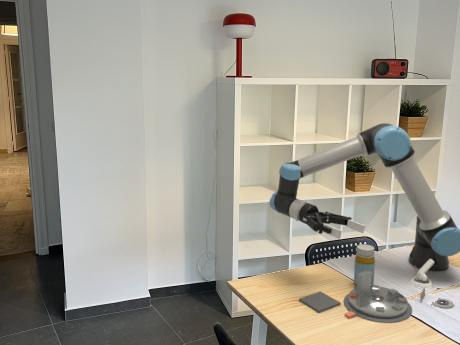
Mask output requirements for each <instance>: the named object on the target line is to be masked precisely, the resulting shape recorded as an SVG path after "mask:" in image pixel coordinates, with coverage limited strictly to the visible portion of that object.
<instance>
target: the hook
mask: <svg viewBox="0 0 460 345" xmlns="http://www.w3.org/2000/svg"><path fill="white" fill-rule="evenodd" d="M433 264H434V261H433V260H432V259H429V260H428V261H427V262H426V263H425V264H424V265H423V267H422V268H419V270H418V271H417V272H416V276H414V277H412V278H411V280H410V281H411V283H412V284H413V285H414V287H415V286H417V287H416V288H418V287H421V288H420V289H422V288H424V287H425V288H428V289H430V288H429V287H431V288H432V287H433V283H432V280H431V279H429V278H428V276H427V274H426V273H427V272H428V271H430V270H429V269H430V267H431V266H432V265H433ZM418 281H422V282H426V281H428V282H429V283H428V282H426V283H422V282H418ZM411 283H410V284H411ZM412 284H411V285H412ZM413 285H412V286H413Z"/></svg>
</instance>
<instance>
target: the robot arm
mask: <svg viewBox="0 0 460 345" xmlns="http://www.w3.org/2000/svg"><path fill="white" fill-rule="evenodd" d="M372 154H377V155H378V157H379V158H380V161H381V162H382V164H383V165H384V168H387V169H390V170H391V171H392V174H394V176H395V178H396V180H397V181H398V183H399V185H400V187H401V189H402V191H403V192H404V194H405V195H406V198H407V199H408V201H409V202H410V204H411V206H412V208H413V210H414V212H415V214H416V223H415V224H416V226H415V234H414V235H415V237H414V238H415V239H414V245H413V247H412V248H411V251H410V253H409V255H408V256H409V257H408V262H409V264H410V263H411V265H412V266H413V265H414V267H415V266H416V267H415V268H419V269H421V268H422V267H423V265H424V264H425V263H426V262H427V261H428V260H429V259H432V260H433V261H434V264H433V265H432V266H431V267H430V269H429V270H428V271H431V270H432V271H433V272H438V271H439V272H440V271H445V270H448V269H449V265H450V261H449V257H452V256H456V255H457V254H459V253H460V229H459V228H458V226H457V224H456V223H455V221H454V219H453V218H452V216H451V214H450V213H449V212H448V211H447V210H443V209H442V207H441V205H440V203H439V202H438V200H437V198H436V196H435V194H434V193H433V192H434V191H432V188H431V187H430V185H429V184H428V182H427V180H426V178H425V176H424V175H423V172H422V171H421V170H420V167H419V166H418V164H417V162H416V160H415V159H414V158H415V154H416V151H415V150H414V147H413V146H412V142H411V138H410V136H409V134H408V133H407V131H406V130H404V128H401V127H399V126H396V125H394V124H391V123H387V122H384V123H379V124H376V125H374V126H372V127H369V128H367V129H365V130H363V131H361V132H358V133H357V134H356V136H355V137H353V138H349V139H347V140H345V141H342V142H340V143H337V144H335V145H331V146H329V147H327V148H324V149H322V150H318V151H317V152H314V153H312V154H308V155H306V156H304V157H301V158H299V159H297V160H293V161H291V162H290V161H289V162H284V163H283V164H282V165H281V166H280V168H279V179H278V180H279V181H278V187H277V191H275V192H274V193H272V195H271V197H270V198H269V207H270V208H271V209H272V210H274V211H275V212H277V213H279V214H281V215H284V216H287V217H289V218H291V219H294V220H295V221H296V222H301V223H303V224H306V225H307V226H308V227H309V228H311V230H312V231H314V232H318V234H320V235H322V234H323V233H325V234H327V235H329V236H332V237H335V238H337V239H339V240H340V239H341V238H342V232H343V231H342V230H341V229H339V228H337V227H334V226H332V225H330V224H335V225H341V226H346V228H349V229H351V230H354V231H356V232H358V233H362V234H364V232H365V228H366V225H365V224H362V223H359V222H357V221H354V220H352V219H353V218H352V217H351V216H345V215H341V214H336V213H332V212H328V211H325V212H324V211H319V208H318V207H317V206H316V205H314V204H311V203H308V202H306V201H304V200H301V199H298V198H297V197H298V196H297V195H298V190H299V184H300V180H301V179H302V178H305V177H308V176H310V175H312V174H316V173H318V172H321V171H324V170H326V169H329V168H332V167H334V166H337V165H339V164H341V163H344V162H348V161H350V160H352V159H355V158H357V157H360V156H367V157H368V156H369V155H372Z"/></svg>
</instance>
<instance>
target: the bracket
mask: <svg viewBox="0 0 460 345" xmlns="http://www.w3.org/2000/svg"><path fill="white" fill-rule="evenodd" d="M425 296H426V289H425V287H424V288H423V289H422V290H421V293H420V296H419V297H420V299H419V300H420V302H419V303H421V304H422V302H423V300H424V298H425ZM437 298H438V300H437V301H435V303H434V302H432V304H431V305H430V306H432V305H433V307H436V308H442V309H450V308H453V307H454V306H455V304H454V302H453V301H451V300H449V299H446V298H441V297H437ZM441 302H443V303H441Z"/></svg>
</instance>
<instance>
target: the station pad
mask: <svg viewBox="0 0 460 345" xmlns="http://www.w3.org/2000/svg"><path fill="white" fill-rule="evenodd" d="M298 301H299V302H300V303H301V304H303V305H306V306H307V307H309V309H312V310H313V311H315V312H317V313H318V314H320V313H322V312H326V311H329V310H331V309H333V308H336V307H339V306H341V305H342V302H340V301H339V300H337V299H335V298H334V297H332V296H329V295H328V294H326V293H325V292H323V291H320V290H319V291H316V292H313V293H312V294H309V295H306V296H302V297H300V298H299V299H298Z"/></svg>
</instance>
